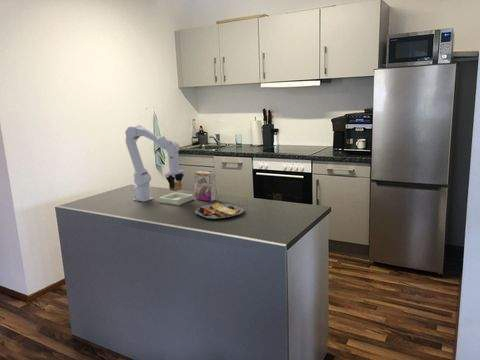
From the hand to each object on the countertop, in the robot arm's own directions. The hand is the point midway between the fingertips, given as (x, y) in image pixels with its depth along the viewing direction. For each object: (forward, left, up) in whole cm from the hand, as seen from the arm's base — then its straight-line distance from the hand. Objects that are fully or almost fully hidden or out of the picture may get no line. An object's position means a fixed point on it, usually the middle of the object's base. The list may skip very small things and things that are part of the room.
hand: (175, 187), depth 231 cm
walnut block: (0, 0, -2) cm, 2 cm away
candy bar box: (+14, +10, -9) cm, 19 cm away
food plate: (+37, -9, -9) cm, 39 cm away
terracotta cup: (+5, +16, -8) cm, 19 cm away
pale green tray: (0, 0, -8) cm, 8 cm away
